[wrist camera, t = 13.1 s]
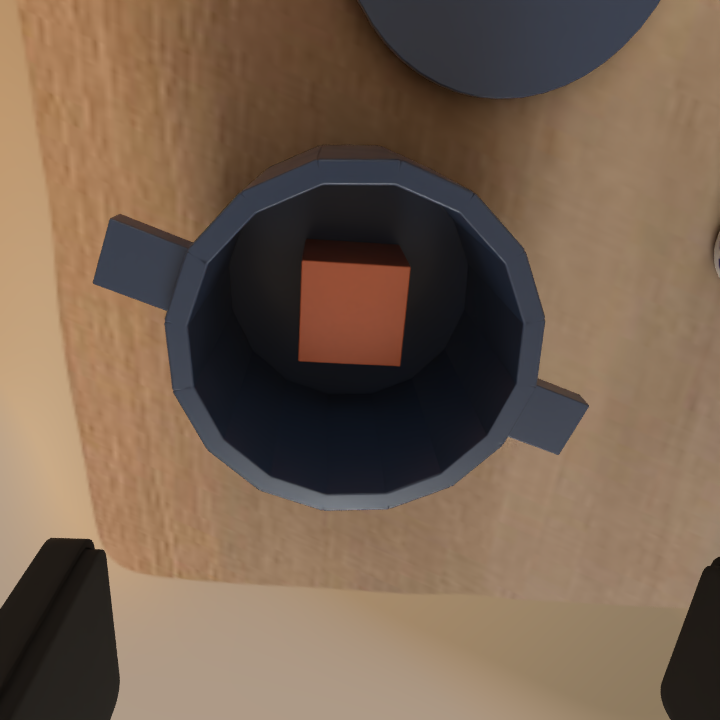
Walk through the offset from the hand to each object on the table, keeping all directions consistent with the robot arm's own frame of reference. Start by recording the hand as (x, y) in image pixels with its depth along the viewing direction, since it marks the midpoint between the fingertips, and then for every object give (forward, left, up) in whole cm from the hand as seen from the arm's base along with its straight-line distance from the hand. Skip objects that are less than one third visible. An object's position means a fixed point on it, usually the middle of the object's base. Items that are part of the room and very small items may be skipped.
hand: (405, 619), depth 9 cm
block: (0, 0, -21) cm, 21 cm away
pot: (0, 0, -22) cm, 22 cm away
